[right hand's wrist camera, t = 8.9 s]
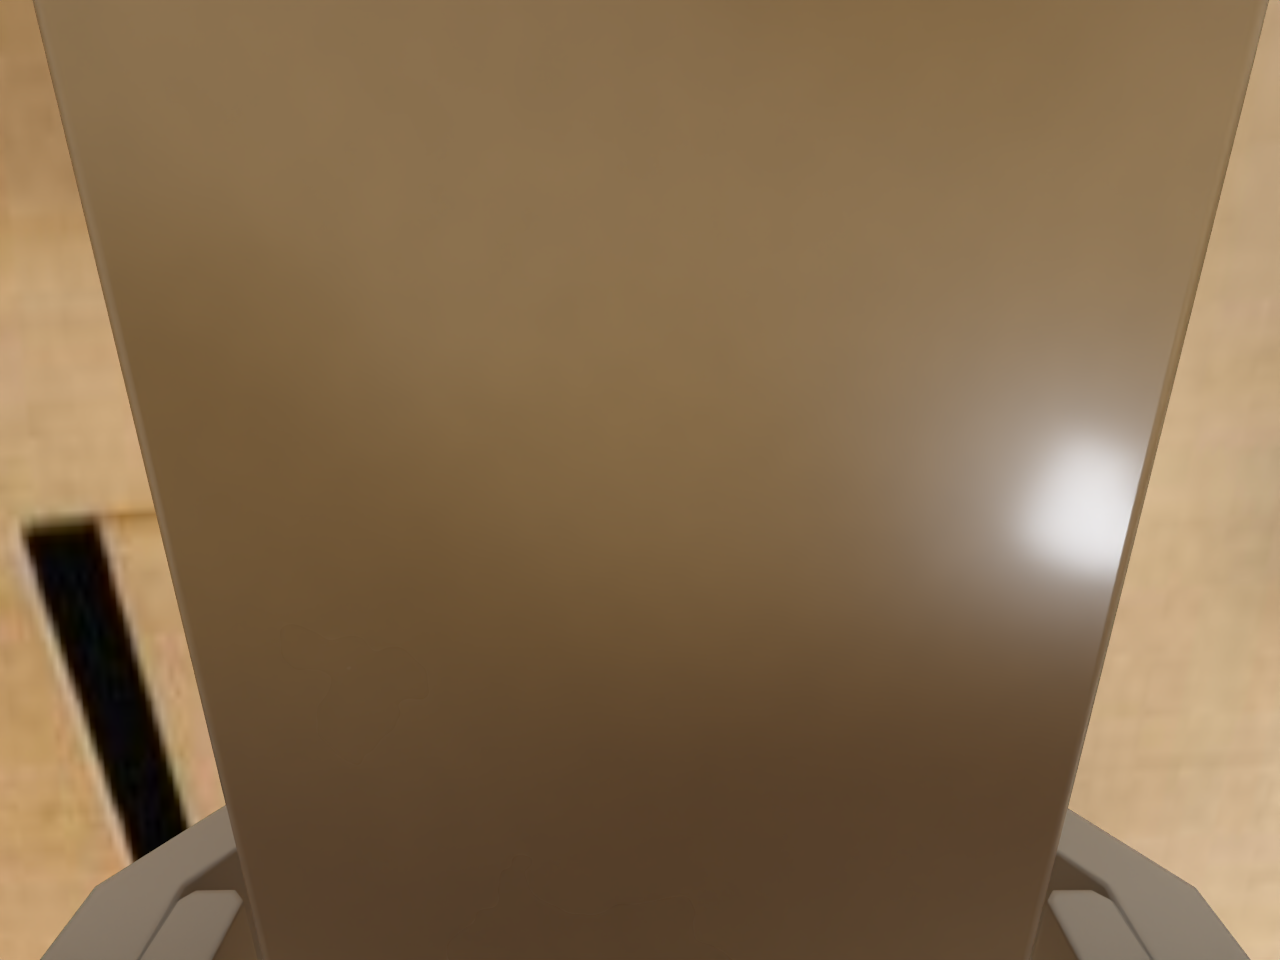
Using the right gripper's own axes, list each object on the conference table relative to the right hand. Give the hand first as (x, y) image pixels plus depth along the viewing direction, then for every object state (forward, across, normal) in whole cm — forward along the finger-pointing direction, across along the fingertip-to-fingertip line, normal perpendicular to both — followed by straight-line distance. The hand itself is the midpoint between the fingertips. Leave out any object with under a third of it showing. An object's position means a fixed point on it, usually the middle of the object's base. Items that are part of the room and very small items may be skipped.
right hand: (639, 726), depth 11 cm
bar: (+3, 0, -9) cm, 9 cm away
